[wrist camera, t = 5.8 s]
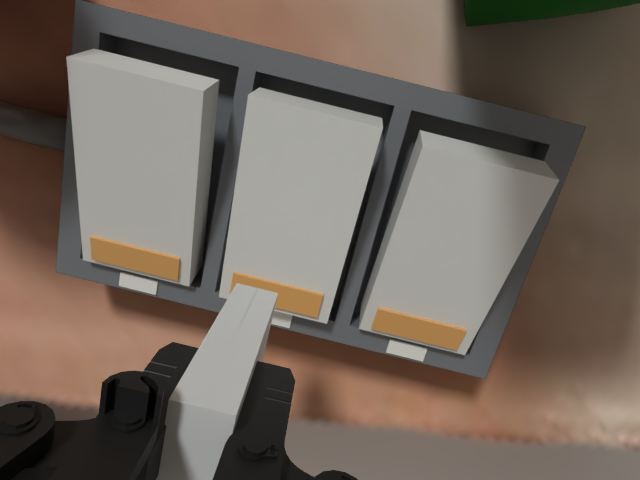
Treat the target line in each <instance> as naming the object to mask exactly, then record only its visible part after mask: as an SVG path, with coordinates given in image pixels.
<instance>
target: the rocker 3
mask: <svg viewBox="0 0 640 480" xmlns="http://www.w3.org/2000/svg"><path fill="white" fill-rule="evenodd" d="M558 182H559V179H558V178H557V176H556V175H555V174H554V172H553V171H552V170H551V169H550V167H549V166H548V165H547V163H546V162H545V161H541V160H537V159H533V158H529V157H525V156H521V155H517V154H513V153H509V152H505V151H501V150H497V149H493V148H489V147H485V146H481V145H477V144H473V143H469V142H465V141H461V140H457V139H453V138H449V137H445V136H441V135H437V134H433V133H430V132H426V131H422V130H420V131H419V134H418V137H417V140H416V143H415V146H414V149H413V152H412V155H411V158H410V161H409V164H408V167H407V169H406V172H405V175H404V178H403V181H402V184H401V187H400V190H399V193H398V196H397V199H396V202H395V205H394V208H393V211H392V214H391V217H390V220H389V223H388V226H387V228H386V231H385V234H384V237H383V240H382V243H381V246H380V249H379V252H378V255H377V258H376V261H375V264H374V267H373V270H372V273H371V276H370V279H369V282H368V285H367V288H366V290H365V293H364V296H363V299H362V302H361V309H360V321H359V329H361V330H365V331H369V332H373V333H377V334H381V335H385V336H389V337H394V338H398V339H402V340H406V341H410V342H414V343H418V344H422V345H426V346H430V347H434V348H438V349H442V350H446V351H450V352H454V353H458V354H462V355H465V354H466V352H467V350H468V348H469V347H470V345H471V343H472V341H473V339H474V337H475V335H476V334H477V332H478V330H479V328H480V326H481V324H482V322H483V321H484V319H485V317H486V315H487V313H488V311H489V310H490V308H491V306H492V304H493V302H494V300H495V298H496V297H497V295H498V293H499V291H500V289H501V287H502V286H503V284H504V282H505V280H506V278H507V276H508V274H509V273H510V271H511V269H512V267H513V265H514V263H515V261H516V260H517V258H518V256H519V254H520V252H521V250H522V249H523V247H524V245H525V243H526V241H527V239H528V237H529V236H530V234H531V232H532V230H533V228H534V226H535V225H536V223H537V221H538V219H539V217H540V215H541V213H542V212H543V210H544V208H545V206H546V204H547V202H548V200H549V199H550V197H551V195H552V193H553V191H554V189H555V188H556V186H557V184H558Z"/></svg>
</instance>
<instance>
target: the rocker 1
mask: <svg viewBox="0 0 640 480" xmlns="http://www.w3.org/2000/svg"><path fill="white" fill-rule="evenodd" d="M66 59H67V71H68V83H69V95H70V108H71V120H72V132H73V144H74V156H75V168H76V181H77V193H78V205H79V217H80V229H81V241H82V254H83V260H85V261H89V262H93V263H97V264H101V265H105V266H109V267H113V268H117V269H121V270H125V271H129V272H133V273H137V274H141V275H145V276H149V277H153V278H157V279H161V280H165V281H169V282H173V283H177V284H181V285H185V286H190V285H191V283H192V281H193V280H194V278H195V276H196V275H197V273H198V271H199V270H200V268H201V267H202V265H203V256H204V245H205V234H206V223H207V212H208V200H209V189H210V178H211V167H212V156H213V145H214V134H215V123H216V112H217V101H218V90H219V80H218V79H214V78H210V77H206V76H202V75H198V74H194V73H190V72H186V71H182V70H178V69H174V68H170V67H166V66H162V65H158V64H154V63H150V62H146V61H142V60H138V59H134V58H130V57H126V56H122V55H118V54H114V53H110V52H106V51H102V50H98V49H90V50H87V51H84V52H80V53H77V54H74V55H70V56H67V57H66Z"/></svg>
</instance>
